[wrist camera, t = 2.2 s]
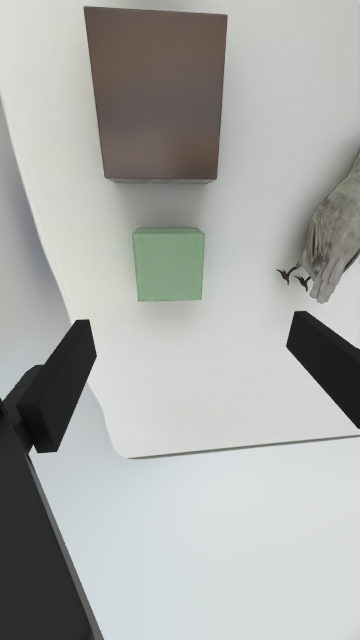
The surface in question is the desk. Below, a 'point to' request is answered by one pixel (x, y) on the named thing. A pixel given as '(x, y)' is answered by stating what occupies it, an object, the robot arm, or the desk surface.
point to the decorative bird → (332, 237)
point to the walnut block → (157, 92)
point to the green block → (168, 263)
